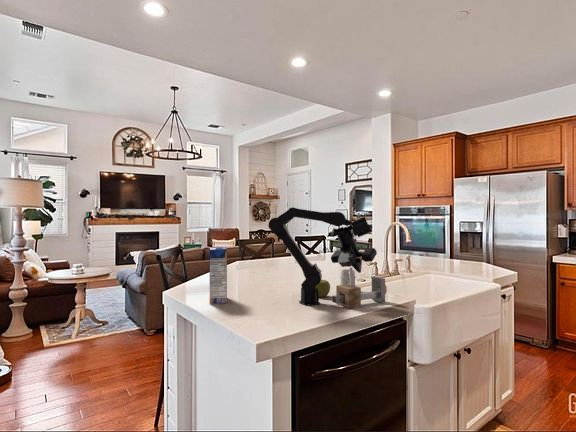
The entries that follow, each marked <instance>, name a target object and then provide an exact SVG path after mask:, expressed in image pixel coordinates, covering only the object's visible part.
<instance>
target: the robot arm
mask: <svg viewBox="0 0 576 432" xmlns="http://www.w3.org/2000/svg"><path fill="white" fill-rule="evenodd" d="M295 218H300V219H305V220H312V221H317V222H318V221H320V222H323V223H326V224H329V225H332V226H335V227H338V228H335V227H333V228H332V230H331V236H332V238H334V237H337V239H338V241H339V244H340V246H339V249H337V250H335V251H334V252H333V254H332V255H330V260H331V262H332V264H334V263H335V264H336V263H337V264H339V265H340V267H342V268H344V267H346V268H347V267H348V268H350V267H352V268H353V270H355V272H357V273H358V274H361V273H362V265H363V264H362V263H363V261H364V262H373V261H374V260H375V257H376V256H377V254H378V252H377V250H376V248H374V247H370V248H369V247H368V248H364V250H361V249H360V246H357V244H356V243H357V238H361V237H364V236H365V235H368V234H371V233H372V229H371V227H370V225H369V224H370V223H368V221H367V218H366V217H365V216H362V217H360V218H359V219H357V220H355V221H351V220H349V219H347V218H346V216H345V214H343V212H341V211H329V212H328V211H325V212H321V211H317V210H316V211H315V210H308V209H302V208H297V207H294V206H293V207H290V208H289V209H288V210H286V211H285V212H283V213H282V214H280V215H278V216H277V217H272V218H271V219H270V220H269V221H268V224H267V225H268V229H269V230H270V231H271V233H272V234H274V235H275V236H276V237H277V238H279V239H280V240H281V241H282V242H283V244H284V246H285V247H286V248H287V250H288V252H289V253H290V254H291V255H292V257H293V258H294V260H295V261H296V262H297V264H298V265H299V267H300V268H301V270H302V275H303V276H304V278H305V279H304V280H303V282H302V283H301V284H300V285H301V286H300V287H301V288H300V300H298V301H299V303H300V304H302V305H304V306H313V305H320V304H321V302H320V297H319V291H318V288H317V287H316V285H318V284H319V283H320V281H321V280H323V279H322V278H323V273H322V270H321V269H320V268H319V266H318V264H317V263H314V264H313V263H311V262H310V260H309V259H308V258H307V256H306V255H305V253H304V252H303V251H302V249H301V248H300V247H299V245H298V244H297V242H296V241H295V239H293V237H292V235H291V234H290V232H289V229H288V227H287V224H288V223H290V222H291V221H292V220H293V219H295ZM341 226H342V227H341ZM343 226H345V227H343ZM352 232H353V233H352ZM355 236H356V237H357V238H354V237H355Z"/></svg>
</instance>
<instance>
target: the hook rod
mask: <svg viewBox="0 0 576 432" xmlns="http://www.w3.org/2000/svg"><path fill="white" fill-rule="evenodd" d="M387 289H388V288H387V286H386V278H385V277H379V276H376V275H375V276H371V291H363V292H362V291H361V301H366V300H372V301H376V302H379V303H385V302H386V294H387V291H388V290H387ZM331 300H332V303H335V304H336V303H342V302H345V294H344V295H332V299H331Z"/></svg>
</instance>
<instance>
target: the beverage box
mask: <svg viewBox="0 0 576 432" xmlns="http://www.w3.org/2000/svg"><path fill="white" fill-rule="evenodd" d="M227 272H228V249H227V247H226V246H221V247H220V246H218V247H217V246H214V247H213V246H211V247H209V305H216V304H217V305H219V304H220V305H221V304H227V303H228V290H227V289H228V273H227Z"/></svg>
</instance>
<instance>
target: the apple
mask: <svg viewBox="0 0 576 432" xmlns="http://www.w3.org/2000/svg"><path fill="white" fill-rule="evenodd" d="M316 287H317V288H318V291H319V298H323V297H326V296H328V295H329V293H330V291H331V284H330V282H329V281H328V280H327V279H321V281H320V283H319V284H318V285H316Z"/></svg>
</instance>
